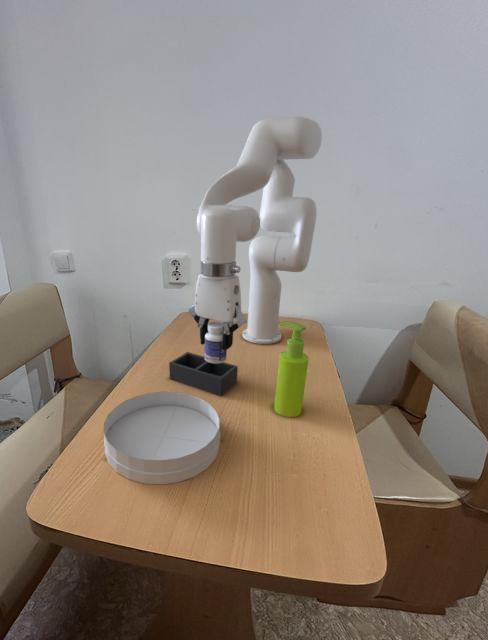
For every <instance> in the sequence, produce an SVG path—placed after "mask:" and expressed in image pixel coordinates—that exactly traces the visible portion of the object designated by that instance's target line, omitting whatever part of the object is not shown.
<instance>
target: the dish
mask: <svg viewBox="0 0 488 640" xmlns="http://www.w3.org/2000/svg"><path fill="white" fill-rule="evenodd" d="M220 442H221V430H220V417H219V416H218V412H217V411H216V409H214V407H213V406H212V405H211V404H210V403H209V402H207V401H206V400H204V399H203V398H200V397H198V396H195V395H192V394H189V393H184V392H179V391H156V392H155V391H154V392H153V391H152V392H147V393H142V394H138V395H136V396H133V397H131V398H128V399H125V400H124V401H122V402H120V404H118V405H115V407H114V408H113V409H112V410H111V411H110V412H109V413H108V414H107V416H106V418H105V420H104V421H103V447H104V455H105V458H106V460H107V463H108V465H109V466H110V467H111V468H112V469H113V470H114V471H115V472H116V474H118V475H121V476H122V477H124V478H126V479H128V480H130V481H133V482H137V483H140V484H145V485H161V486H162V485H169V484H175V483H180V482H181V483H182V482H184V481H187V480H190V479H192V478H195V477H196V476H198V475H199V474H202V472H204V471H206V470H207V469H208V468H209V467H210V466H211V465H212V464H213V463H214V462H215V461H216V458H217V456H218V454H219V453H220V445H221V443H220Z"/></svg>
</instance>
